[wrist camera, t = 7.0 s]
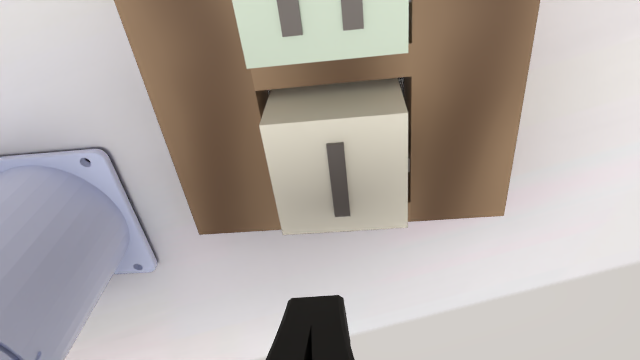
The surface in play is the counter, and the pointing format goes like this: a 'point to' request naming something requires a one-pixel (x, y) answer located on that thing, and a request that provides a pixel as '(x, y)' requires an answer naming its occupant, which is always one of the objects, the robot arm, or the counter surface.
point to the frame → (253, 84)
